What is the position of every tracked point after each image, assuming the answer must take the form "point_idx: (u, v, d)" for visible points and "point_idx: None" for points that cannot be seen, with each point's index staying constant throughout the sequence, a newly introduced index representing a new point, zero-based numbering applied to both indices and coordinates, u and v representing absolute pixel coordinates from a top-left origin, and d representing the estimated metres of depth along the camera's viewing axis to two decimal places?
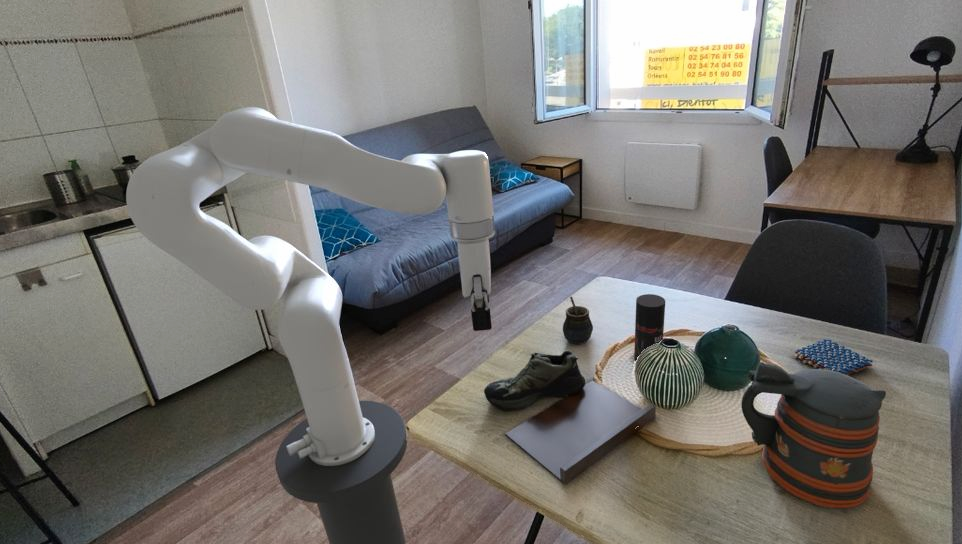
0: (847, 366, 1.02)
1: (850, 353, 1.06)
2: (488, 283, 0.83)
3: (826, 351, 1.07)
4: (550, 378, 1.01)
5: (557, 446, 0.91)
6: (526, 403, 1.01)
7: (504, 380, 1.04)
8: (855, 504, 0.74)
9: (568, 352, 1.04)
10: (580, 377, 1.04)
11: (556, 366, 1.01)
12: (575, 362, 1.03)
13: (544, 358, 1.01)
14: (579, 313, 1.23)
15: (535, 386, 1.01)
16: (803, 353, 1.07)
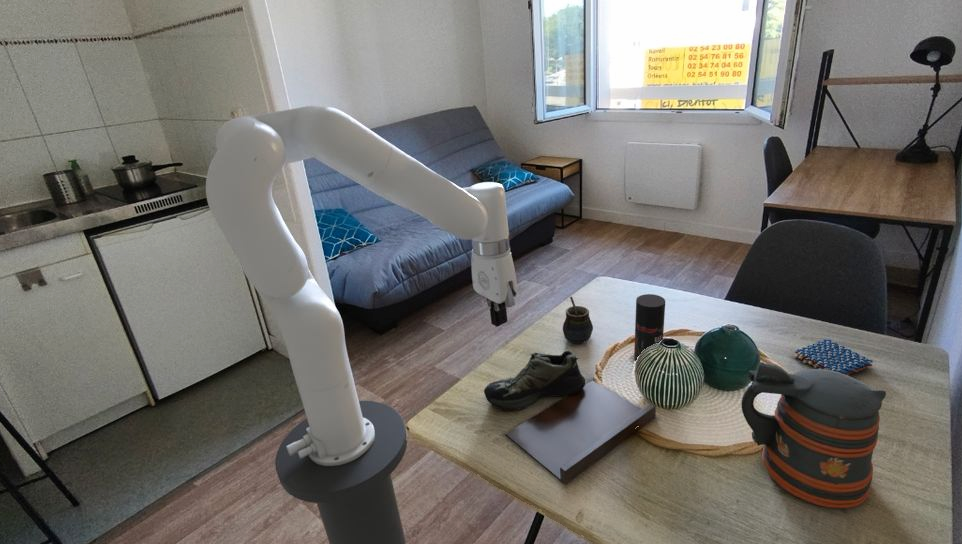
0: (847, 366, 1.02)
1: (850, 353, 1.06)
2: (516, 286, 1.02)
3: (826, 351, 1.07)
4: (550, 378, 1.01)
5: (557, 446, 0.91)
6: (526, 403, 1.01)
7: (504, 380, 1.04)
8: (855, 504, 0.74)
9: (568, 352, 1.04)
10: (580, 377, 1.04)
11: (556, 366, 1.01)
12: (575, 362, 1.03)
13: (544, 358, 1.01)
14: (579, 313, 1.23)
15: (535, 386, 1.01)
16: (803, 353, 1.07)
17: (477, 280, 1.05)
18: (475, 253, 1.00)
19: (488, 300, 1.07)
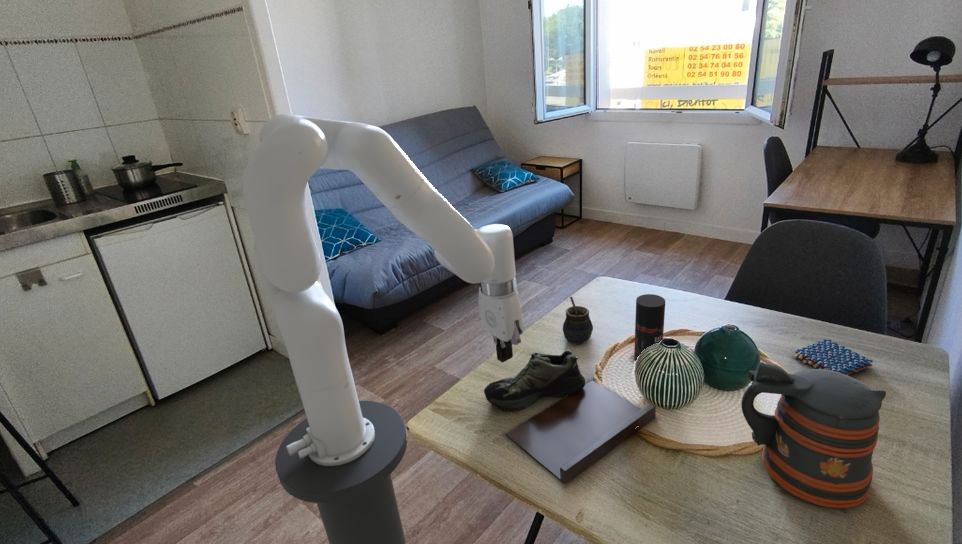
0: (847, 366, 1.02)
1: (850, 353, 1.06)
2: (522, 324, 1.04)
3: (826, 351, 1.07)
4: (550, 378, 1.01)
5: (557, 446, 0.91)
6: (526, 403, 1.01)
7: (504, 380, 1.04)
8: (855, 504, 0.74)
9: (568, 352, 1.04)
10: (580, 377, 1.04)
11: (556, 366, 1.01)
12: (575, 362, 1.03)
13: (544, 358, 1.01)
14: (579, 313, 1.23)
15: (535, 386, 1.01)
16: (803, 353, 1.07)
17: (484, 317, 1.07)
18: (483, 293, 1.02)
19: (494, 336, 1.09)
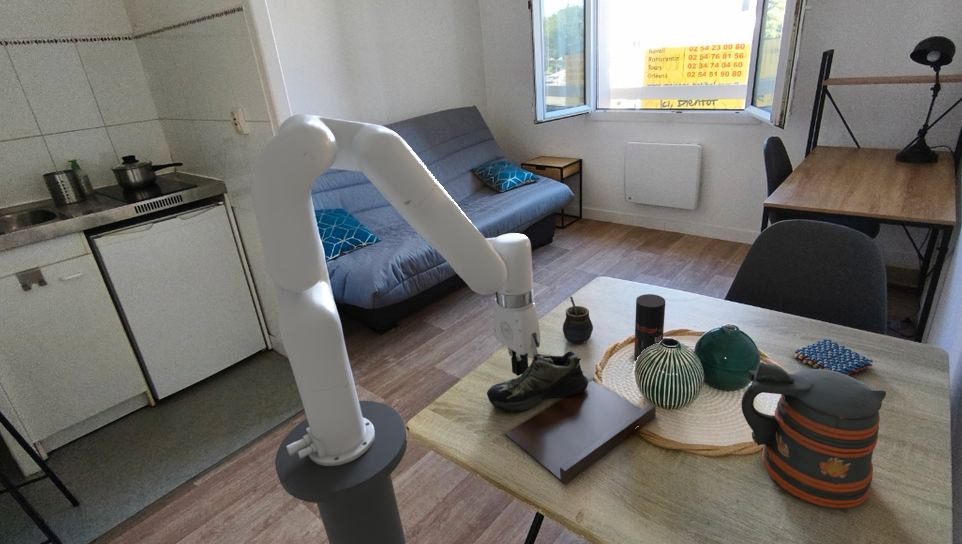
0: (847, 366, 1.02)
1: (850, 353, 1.06)
2: None
3: (826, 351, 1.07)
4: (553, 379, 1.00)
5: (557, 446, 0.91)
6: (530, 405, 1.01)
7: (507, 382, 1.04)
8: (855, 504, 0.74)
9: (570, 353, 1.04)
10: (583, 377, 1.04)
11: (559, 367, 1.01)
12: (578, 362, 1.02)
13: (547, 359, 1.01)
14: (579, 313, 1.23)
15: (538, 387, 1.00)
16: (803, 353, 1.07)
17: (499, 329, 1.03)
18: (499, 304, 0.98)
19: (510, 349, 1.05)
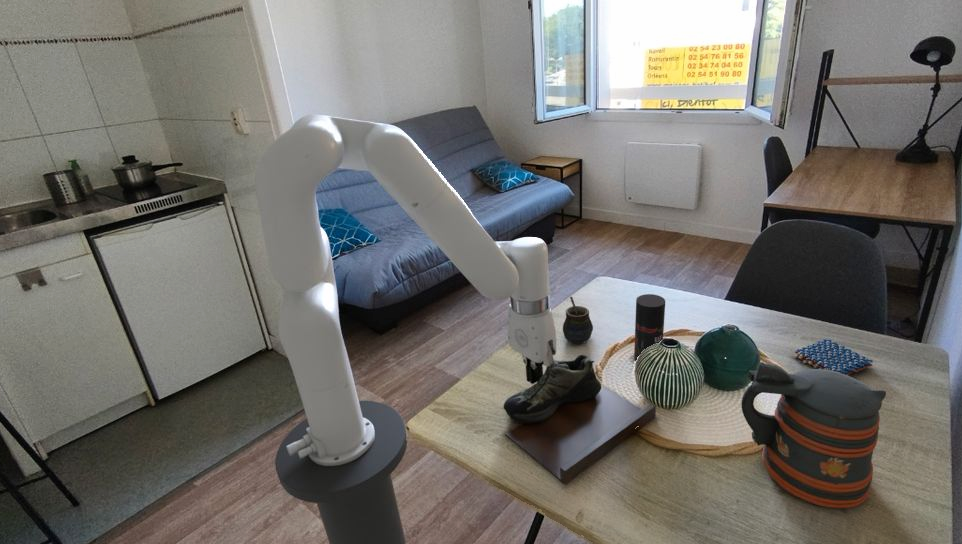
0: (847, 366, 1.02)
1: (850, 353, 1.06)
2: None
3: (826, 351, 1.07)
4: (571, 385, 0.98)
5: (557, 446, 0.91)
6: (549, 414, 0.98)
7: (522, 393, 1.00)
8: (855, 504, 0.74)
9: (583, 356, 1.02)
10: (596, 380, 1.02)
11: (576, 371, 0.98)
12: (591, 365, 1.01)
13: (563, 365, 0.99)
14: (579, 313, 1.23)
15: (556, 395, 0.98)
16: (803, 353, 1.07)
17: (514, 336, 1.00)
18: (514, 311, 0.95)
19: (524, 356, 1.02)
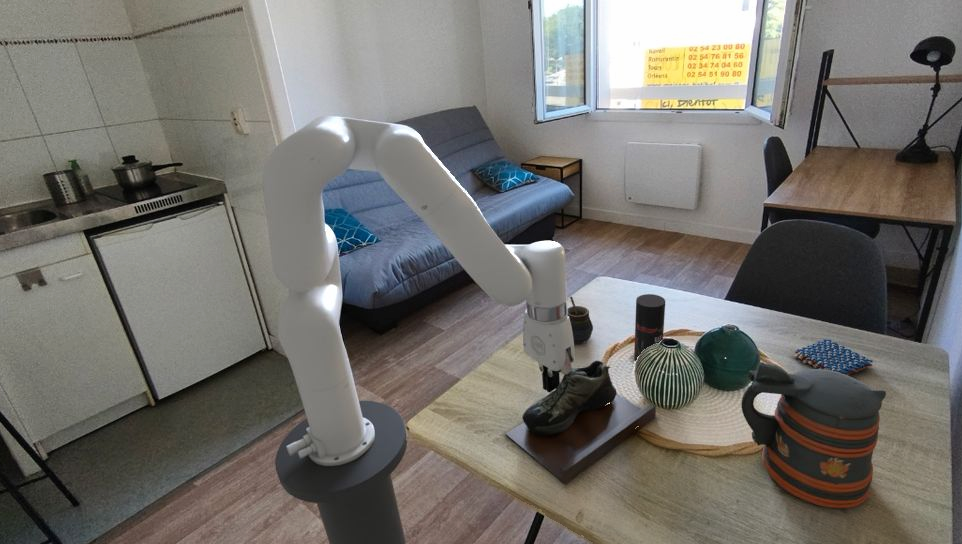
0: (847, 366, 1.02)
1: (850, 353, 1.06)
2: None
3: (826, 351, 1.07)
4: (590, 392, 0.96)
5: (557, 446, 0.91)
6: (569, 423, 0.95)
7: (540, 403, 0.96)
8: (855, 504, 0.74)
9: (598, 362, 1.00)
10: (612, 385, 1.00)
11: (594, 379, 0.96)
12: (608, 371, 0.99)
13: (581, 372, 0.96)
14: (579, 313, 1.23)
15: (576, 404, 0.95)
16: (803, 353, 1.07)
17: (530, 344, 0.96)
18: (530, 317, 0.92)
19: (540, 364, 0.98)
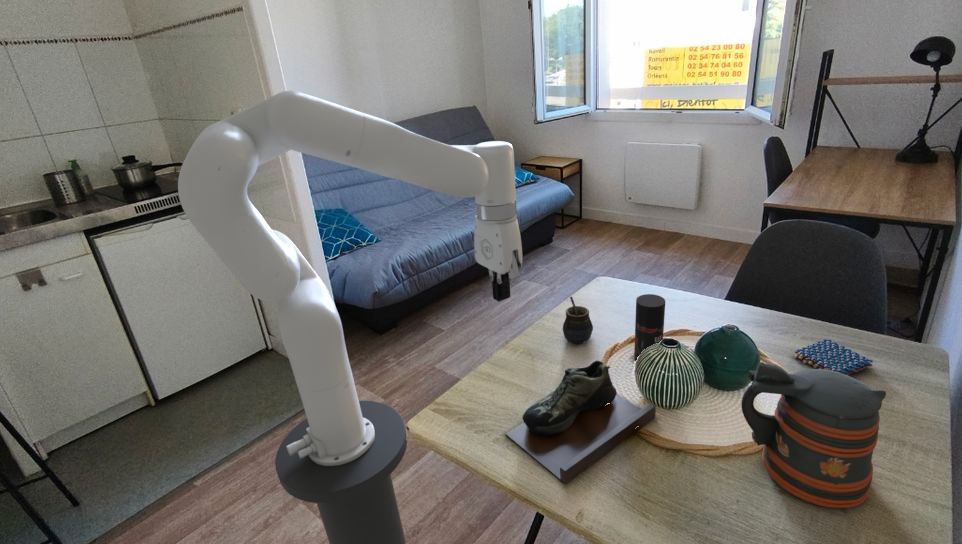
0: (847, 366, 1.02)
1: (850, 353, 1.06)
2: None
3: (826, 351, 1.07)
4: (590, 393, 0.96)
5: (557, 446, 0.91)
6: (570, 424, 0.95)
7: (540, 403, 0.96)
8: (855, 504, 0.74)
9: (598, 362, 1.00)
10: (612, 385, 1.00)
11: (594, 379, 0.96)
12: (608, 371, 0.99)
13: (581, 372, 0.96)
14: (579, 313, 1.23)
15: (576, 404, 0.95)
16: (803, 353, 1.07)
17: (479, 249, 0.97)
18: (479, 218, 0.92)
19: (490, 272, 0.99)
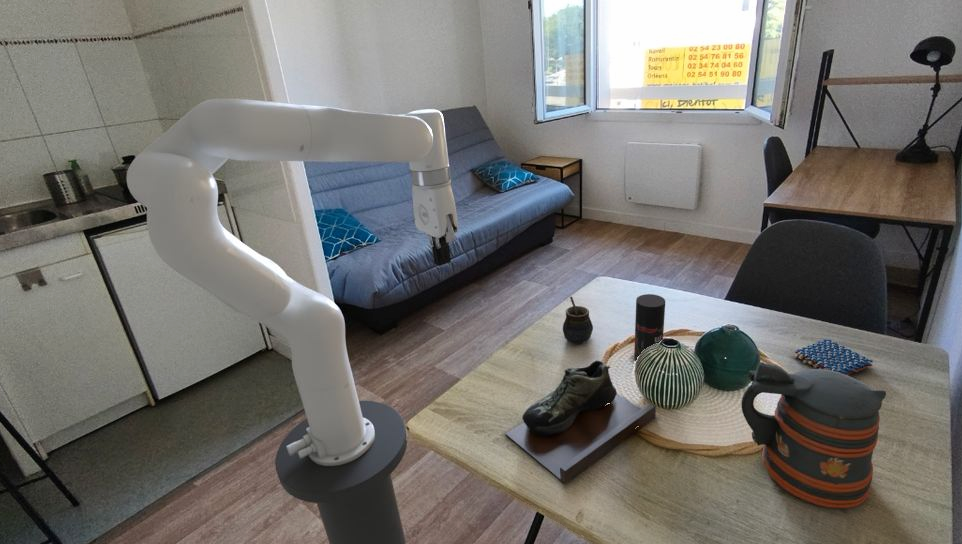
0: (847, 366, 1.02)
1: (850, 353, 1.06)
2: (457, 220, 0.98)
3: (826, 351, 1.07)
4: (590, 393, 0.96)
5: (557, 446, 0.91)
6: (570, 424, 0.95)
7: (540, 403, 0.96)
8: (855, 504, 0.74)
9: (598, 362, 1.00)
10: (612, 385, 1.00)
11: (594, 379, 0.96)
12: (608, 371, 0.99)
13: (581, 372, 0.96)
14: (579, 313, 1.23)
15: (576, 404, 0.95)
16: (803, 353, 1.07)
17: (418, 216, 1.01)
18: (413, 184, 0.96)
19: (430, 238, 1.03)
